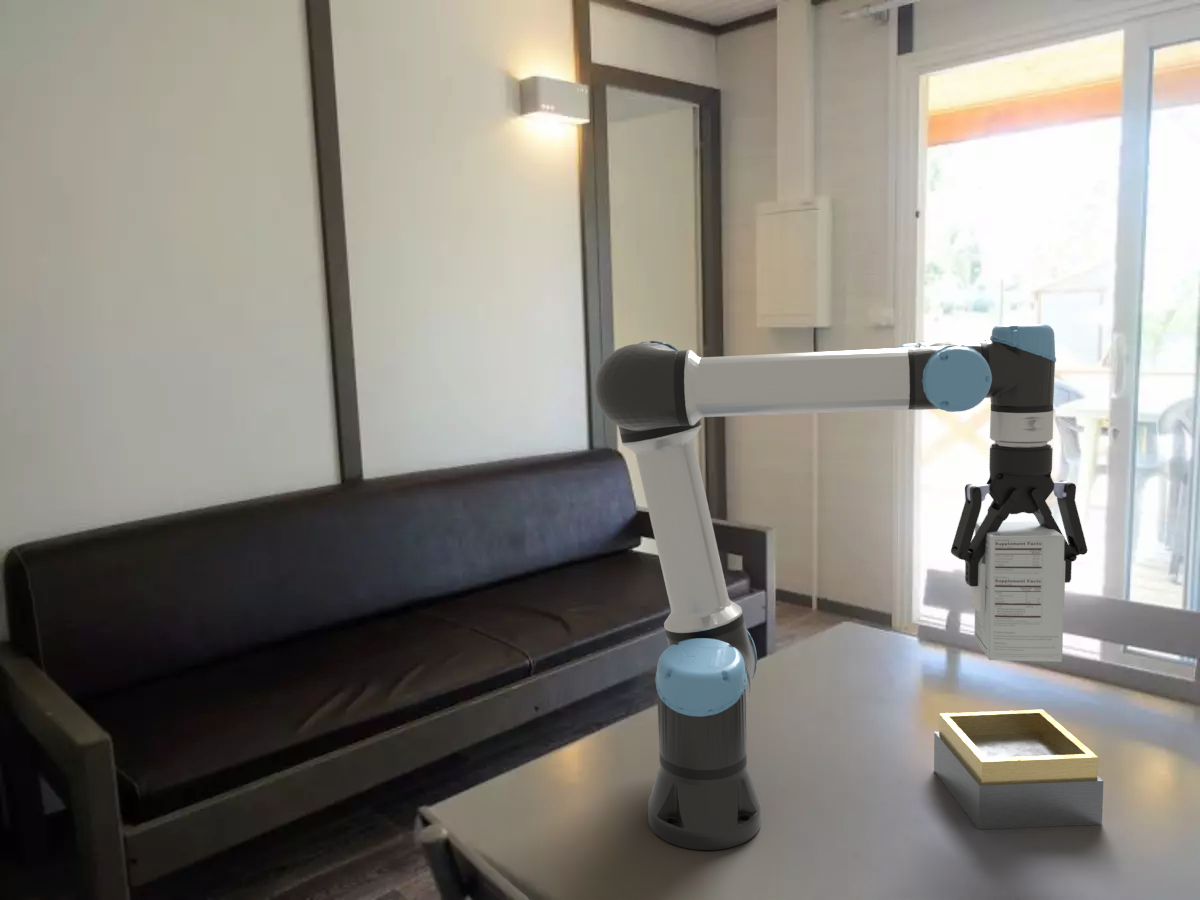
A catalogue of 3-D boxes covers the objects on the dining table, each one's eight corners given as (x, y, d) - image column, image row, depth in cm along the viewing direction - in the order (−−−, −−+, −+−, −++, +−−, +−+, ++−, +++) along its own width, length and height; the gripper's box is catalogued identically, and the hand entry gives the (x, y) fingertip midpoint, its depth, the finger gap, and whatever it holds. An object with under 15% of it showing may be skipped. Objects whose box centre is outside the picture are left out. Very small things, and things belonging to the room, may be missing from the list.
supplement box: (1064, 663, 121) (1067, 535, 119) (988, 661, 122) (990, 536, 120) (1042, 638, 130) (1044, 519, 128) (972, 637, 132) (973, 520, 130)
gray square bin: (978, 829, 121) (979, 763, 120) (934, 770, 137) (934, 712, 136) (1101, 824, 121) (1104, 758, 120) (1042, 766, 137) (1044, 707, 136)
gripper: (946, 450, 119) (944, 619, 122) (1122, 443, 119) (1116, 612, 122) (925, 442, 126) (924, 602, 129) (1091, 435, 126) (1086, 596, 129)
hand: (1017, 607), depth 126 cm, fingers closed on supplement box, 10 cm apart
